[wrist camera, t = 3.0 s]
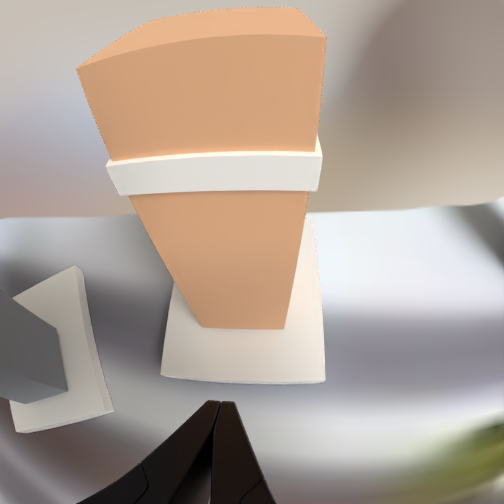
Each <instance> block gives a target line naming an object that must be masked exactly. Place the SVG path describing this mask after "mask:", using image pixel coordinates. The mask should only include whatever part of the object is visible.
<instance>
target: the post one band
mask: <svg viewBox="0 0 504 504" xmlns="http://www.w3.org/2000/svg"><path fill="white" fill-rule="evenodd" d="M326 40H327V37H326V36H325V35H324V34H323V33H322V32H321V31H320V30H319V29H318V28H317V27H316V26H315V25H314V24H313V23H312V22H311V21H310V20H309V19H308V18H307V17H306V16H305V15H304V14H303V13H302V12H301V11H300V10H299V9H298V8H280V7H279V8H277V7H256V8H254V7H253V8H233V9H220V10H211V11H202V12H195V13H188V14H182V15H176V16H171V17H165V18H161V19H156V20H152V21H149V22H148V23H146V24H144V25H142V26H140V27H138V28H137V29H135V30H133V31H131V32H130V33H128V34H127V35H124V36H123V37H121V38H120V39H118V40H116V41H115V42H113V43H112V44H110V45H108V46H107V47H105V48H104V49H103V50H101V51H100V52H98V53H97V54H95V55H94V56H92V57H91V58H90V59H88V60H87V61H85V62H84V63H83V64H82V65H80V66H79V67H77V68H76V70H77V73H78V76H79V79H80V82H81V85H82V87H83V90H84V93H85V95H86V98H87V101H88V103H89V106H90V109H91V111H92V114H93V116H94V119H95V121H96V124H97V126H98V129H99V131H100V134H101V136H102V138H103V141H104V143H105V145H106V147H107V150H108V152H109V154H110V159H109V161H108V163H107V165H106V166H105V167H106V169H107V171H108V174H109V176H110V178H111V179H112V182H113V183H114V186H115V188H116V190H117V192H118V194H119V195H120V196H125V195H129V197H130V199H131V201H132V203H133V205H134V207H135V209H136V211H137V213H138V215H139V217H140V219H141V221H142V223H143V225H144V227H145V229H146V231H147V233H148V235H149V237H150V238H151V240H152V242H153V244H154V246H155V248H156V249H157V251H158V253H159V255H160V257H161V259H162V260H163V262H164V264H165V266H166V267H167V269H168V271H169V273H170V274H171V276H172V278H173V280H174V281H175V283H176V285H177V286H178V288H179V290H180V291H181V293H182V295H183V296H184V298H185V300H186V301H187V303H188V305H189V306H190V308H191V310H192V311H193V313H194V314H195V316H196V318H197V319H198V321H199V322H200V324H201V326H202V327H205V328H227V329H273V330H284V327H285V322H286V317H287V313H288V308H289V303H290V298H291V293H292V288H293V283H294V277H295V272H296V267H297V261H298V256H299V250H300V244H301V239H302V233H303V227H304V221H305V215H306V208H307V202H308V196H309V191H317V189H318V183H319V177H320V171H321V165H322V159H323V156H322V151H321V147H320V144H319V140H318V135H317V131H318V123H319V114H320V105H321V96H322V86H323V76H324V65H325V53H326Z"/></svg>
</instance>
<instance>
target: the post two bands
mask: <svg viewBox="0 0 504 504" xmlns="http://www.w3.org/2000/svg"><path fill="white" fill-rule="evenodd" d="M64 392H68V388H67V384H66V380H65V375H64V370H63V365H62V360H61V355H60V349H59V343H58V336H57V329H56V328H55V327H53V326H52V325H50V324H48V323H47V322H45V321H44V320H42V319H41V318H39V317H38V316H36V315H35V314H33V313H32V312H30V311H29V310H28V309H26V308H25V307H23V306H22V305H20V304H19V303H18V302H16V301H15V300H14V299H12V298H11V297H10V296H8V295H7V294H6V293H4V292H3V291H2V290H1V289H0V397H1V398H5V399H8V400H12V401H15V402H19V403H23V404H28V403H31V402H35V401H38V400H42V399H45V398H48V397H52V396H55V395H58V394H61V393H64Z"/></svg>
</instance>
